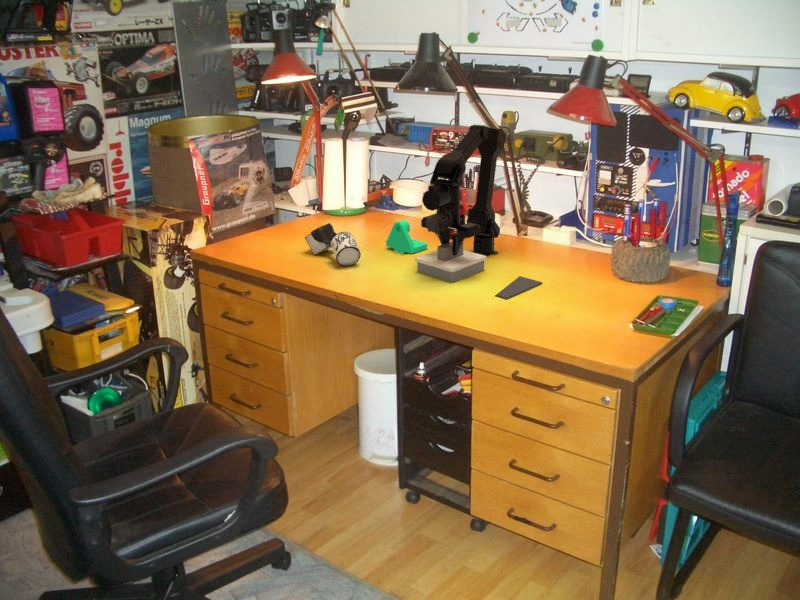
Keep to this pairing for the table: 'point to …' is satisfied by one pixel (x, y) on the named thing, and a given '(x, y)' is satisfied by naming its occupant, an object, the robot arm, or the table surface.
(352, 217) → the table surface
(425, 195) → the robot arm
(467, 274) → the storage box
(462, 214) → the soda can
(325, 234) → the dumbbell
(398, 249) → the camera mount
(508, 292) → the rubber mat
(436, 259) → the lid
